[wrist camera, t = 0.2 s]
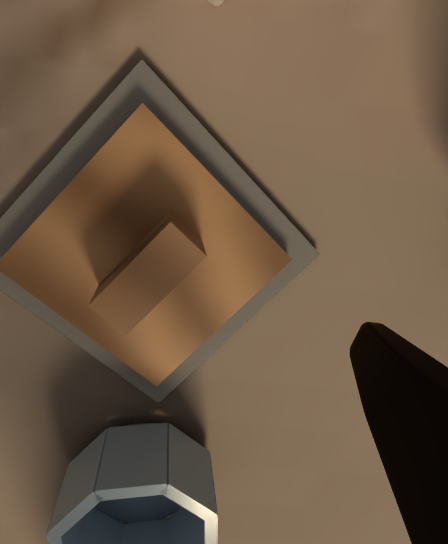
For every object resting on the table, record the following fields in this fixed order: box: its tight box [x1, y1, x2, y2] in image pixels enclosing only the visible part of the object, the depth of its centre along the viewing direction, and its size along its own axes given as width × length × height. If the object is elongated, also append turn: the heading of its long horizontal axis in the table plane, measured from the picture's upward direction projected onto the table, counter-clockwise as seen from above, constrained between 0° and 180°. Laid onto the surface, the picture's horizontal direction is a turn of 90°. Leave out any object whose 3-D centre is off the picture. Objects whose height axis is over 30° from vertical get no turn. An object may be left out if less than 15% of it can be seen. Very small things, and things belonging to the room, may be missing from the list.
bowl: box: [46, 423, 218, 544], centre depth 26 cm, size 10×10×6 cm
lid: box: [0, 103, 292, 386], centre depth 21 cm, size 12×12×4 cm
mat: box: [0, 59, 319, 403], centre depth 23 cm, size 15×15×1 cm
